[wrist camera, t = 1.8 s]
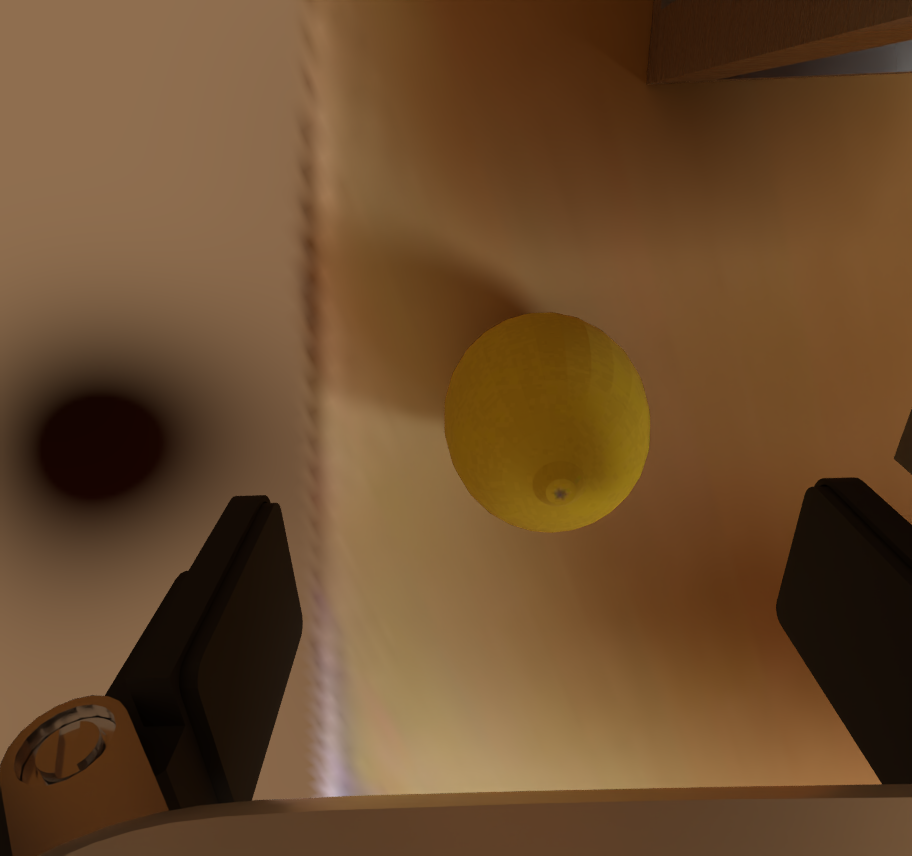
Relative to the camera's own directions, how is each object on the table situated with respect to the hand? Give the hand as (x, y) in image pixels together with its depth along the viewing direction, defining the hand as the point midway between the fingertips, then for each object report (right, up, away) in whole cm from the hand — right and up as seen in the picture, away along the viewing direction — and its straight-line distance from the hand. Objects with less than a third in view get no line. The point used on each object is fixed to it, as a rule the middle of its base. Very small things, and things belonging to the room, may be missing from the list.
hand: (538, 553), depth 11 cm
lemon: (+1, +4, +10) cm, 11 cm away
